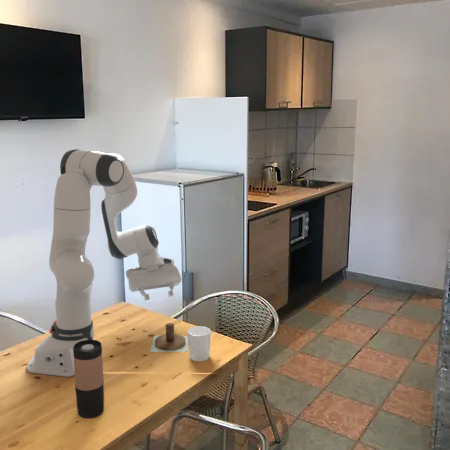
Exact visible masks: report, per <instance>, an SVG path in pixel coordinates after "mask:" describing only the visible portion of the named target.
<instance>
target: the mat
mask: <svg viewBox="0 0 450 450" xmlns="http://www.w3.org/2000/svg"><path fill="white" fill-rule="evenodd" d="M159 336H160V335H154V337H153V339H152V343H151V346H150V350H149V352H150V353H151V352H152V353H166V352H167V353H186V352H188V349H189V346H188V335H182V336H183V337H184V338H185V345H184V346H183V347H182V348H179V349H176V350H162V349H159V348H157V347H156V346H155V339H156V338H157V337H159Z"/></svg>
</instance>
